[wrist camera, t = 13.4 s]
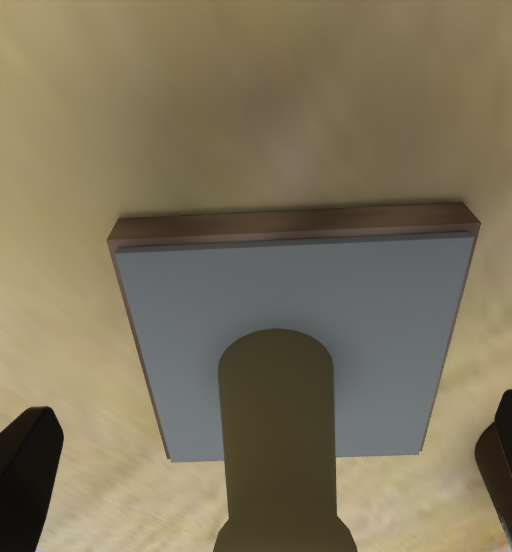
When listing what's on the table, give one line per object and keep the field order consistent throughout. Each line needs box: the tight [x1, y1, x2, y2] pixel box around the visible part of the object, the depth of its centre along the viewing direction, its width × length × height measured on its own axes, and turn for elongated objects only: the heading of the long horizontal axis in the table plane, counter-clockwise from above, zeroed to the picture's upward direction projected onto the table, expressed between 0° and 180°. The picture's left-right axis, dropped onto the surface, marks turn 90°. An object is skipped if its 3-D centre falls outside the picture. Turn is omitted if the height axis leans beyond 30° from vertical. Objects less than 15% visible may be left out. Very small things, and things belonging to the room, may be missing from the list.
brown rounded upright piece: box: [213, 328, 357, 552], centre depth 19 cm, size 6×6×11 cm
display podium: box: [107, 203, 481, 462], centre depth 24 cm, size 16×16×2 cm
